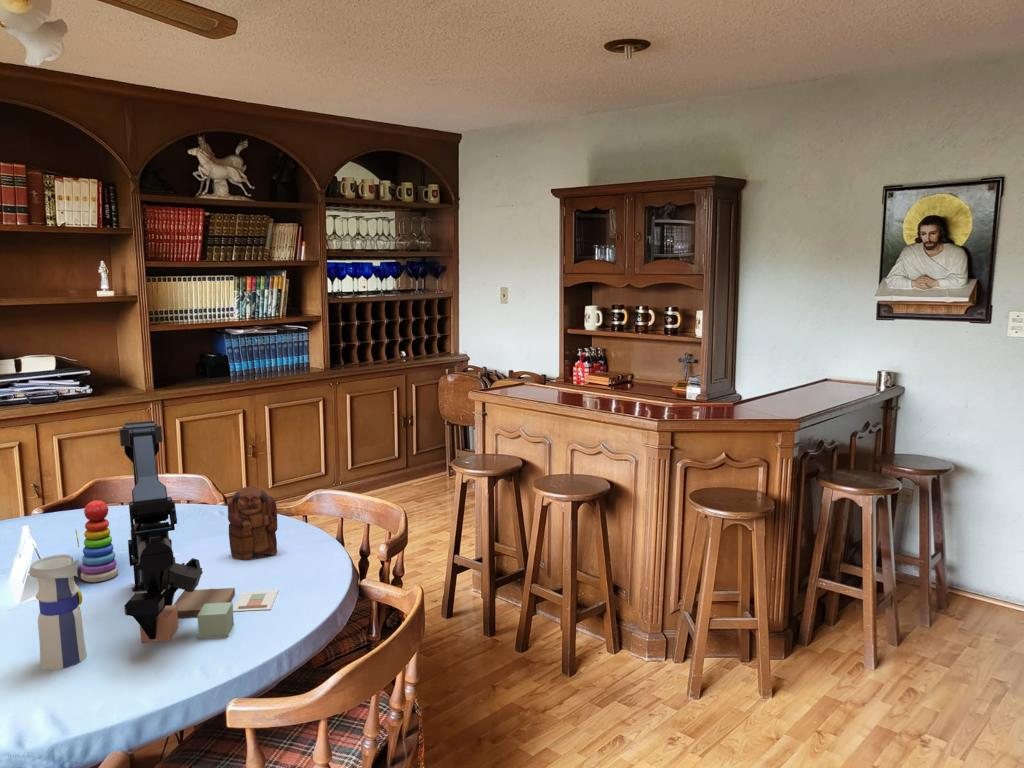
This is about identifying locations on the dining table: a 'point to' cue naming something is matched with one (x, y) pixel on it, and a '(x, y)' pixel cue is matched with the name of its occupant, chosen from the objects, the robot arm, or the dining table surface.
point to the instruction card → (255, 601)
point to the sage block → (215, 620)
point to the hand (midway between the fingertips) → (159, 629)
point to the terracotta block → (164, 625)
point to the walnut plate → (201, 600)
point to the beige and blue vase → (59, 612)
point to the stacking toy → (97, 545)
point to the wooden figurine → (252, 524)
